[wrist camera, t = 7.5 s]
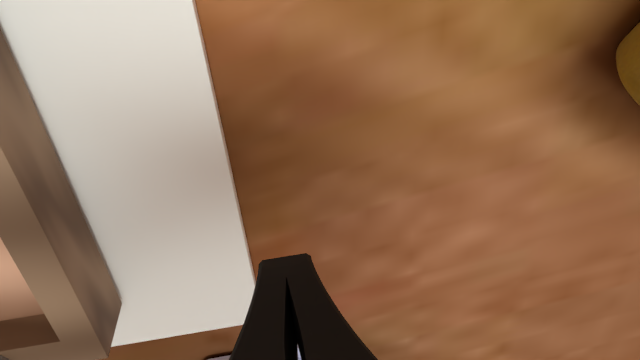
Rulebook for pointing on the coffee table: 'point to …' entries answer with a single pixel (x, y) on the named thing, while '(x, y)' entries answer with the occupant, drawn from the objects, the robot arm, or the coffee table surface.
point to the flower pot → (630, 63)
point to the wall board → (140, 154)
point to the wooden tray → (45, 244)
